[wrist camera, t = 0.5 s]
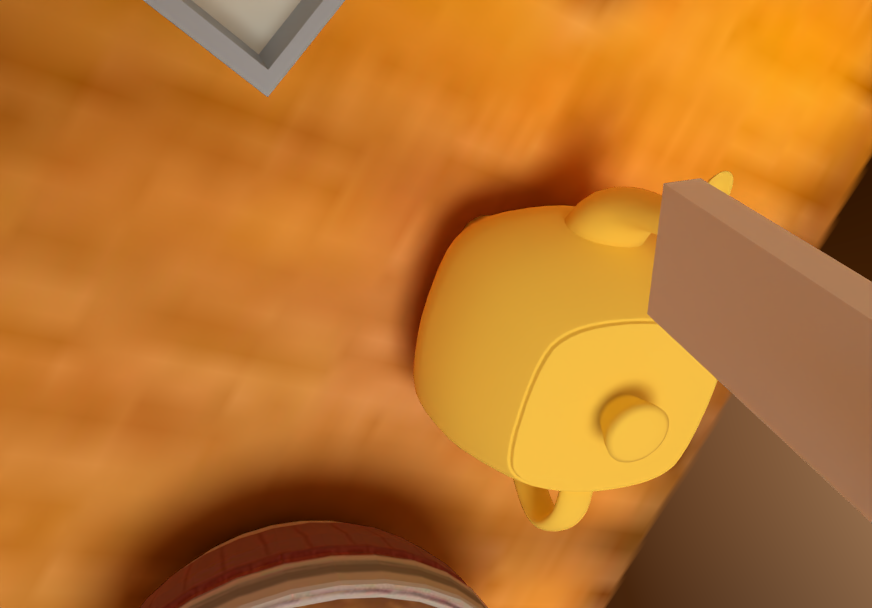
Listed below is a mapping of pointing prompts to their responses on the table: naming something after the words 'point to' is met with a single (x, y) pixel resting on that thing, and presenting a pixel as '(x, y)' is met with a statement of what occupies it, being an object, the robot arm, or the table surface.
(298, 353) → the table surface
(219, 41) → the deck
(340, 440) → the table surface
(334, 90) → the table surface
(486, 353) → the teapot
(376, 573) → the bowl
